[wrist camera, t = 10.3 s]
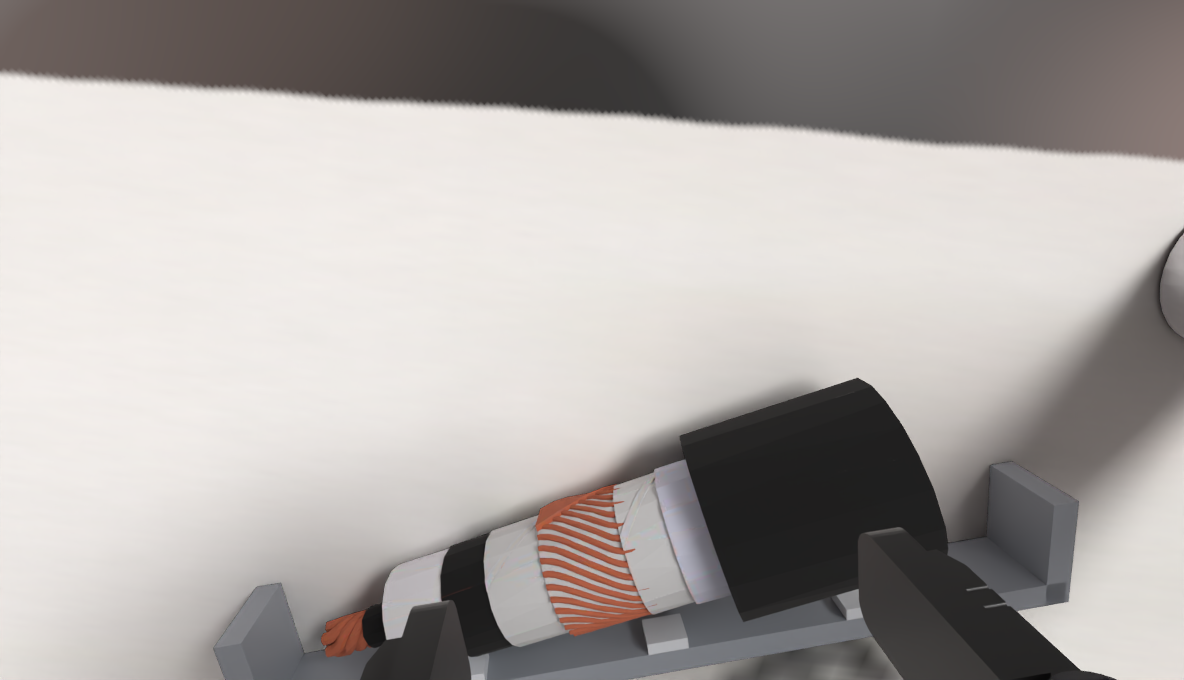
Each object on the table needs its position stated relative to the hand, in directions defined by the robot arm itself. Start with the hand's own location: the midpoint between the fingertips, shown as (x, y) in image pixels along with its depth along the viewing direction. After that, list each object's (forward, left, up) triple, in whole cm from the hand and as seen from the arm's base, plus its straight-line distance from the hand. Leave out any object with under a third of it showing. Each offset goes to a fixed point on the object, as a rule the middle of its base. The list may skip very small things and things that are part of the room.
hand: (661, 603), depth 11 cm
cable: (+1, +13, -24) cm, 27 cm away
